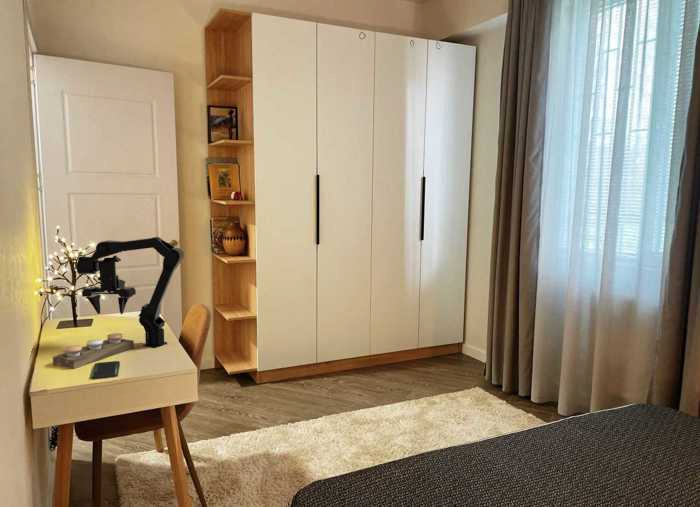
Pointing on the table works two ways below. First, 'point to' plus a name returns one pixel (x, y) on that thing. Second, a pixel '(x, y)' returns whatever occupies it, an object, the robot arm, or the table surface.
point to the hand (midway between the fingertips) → (110, 313)
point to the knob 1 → (73, 351)
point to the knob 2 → (114, 338)
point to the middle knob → (95, 344)
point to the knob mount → (93, 354)
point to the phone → (105, 370)
